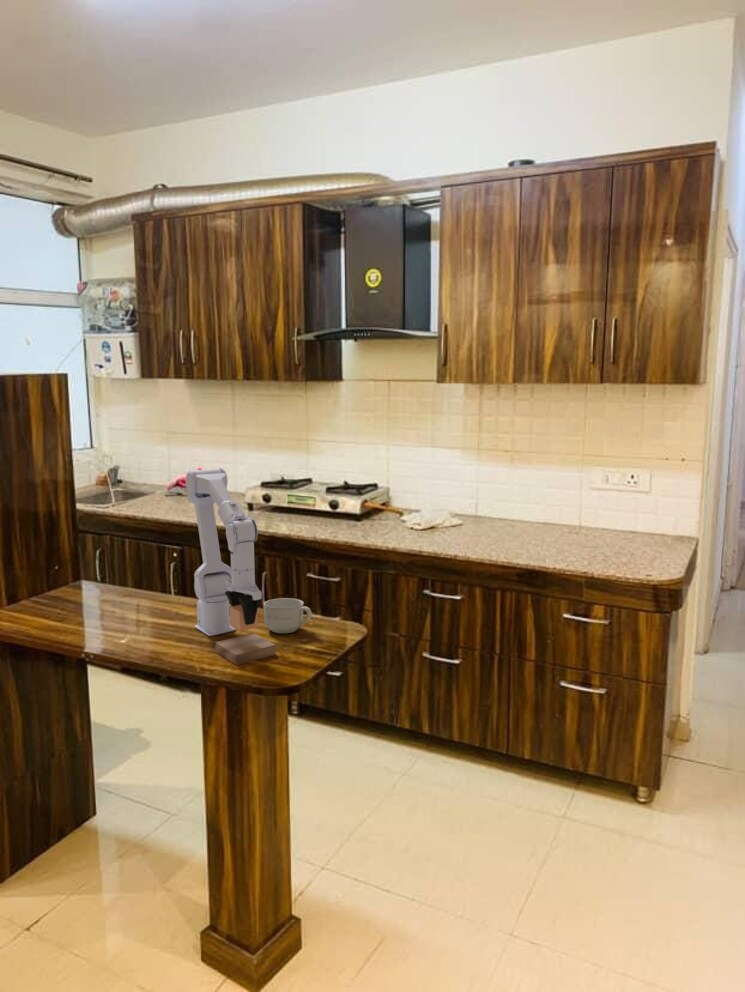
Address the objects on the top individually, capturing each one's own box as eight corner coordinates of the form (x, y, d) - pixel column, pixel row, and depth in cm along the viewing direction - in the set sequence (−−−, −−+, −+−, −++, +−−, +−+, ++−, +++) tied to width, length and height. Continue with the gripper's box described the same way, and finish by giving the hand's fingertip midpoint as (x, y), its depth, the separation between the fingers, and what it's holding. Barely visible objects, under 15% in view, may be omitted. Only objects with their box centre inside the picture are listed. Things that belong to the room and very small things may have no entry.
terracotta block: (230, 626, 189) (229, 606, 188) (248, 621, 192) (247, 603, 191) (240, 631, 185) (239, 611, 184) (258, 627, 188) (257, 607, 187)
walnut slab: (215, 653, 191) (215, 642, 190) (253, 643, 197) (253, 632, 197) (236, 666, 182) (236, 655, 182) (275, 656, 189) (275, 644, 188)
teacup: (256, 631, 205) (255, 603, 204) (284, 620, 214) (283, 593, 213) (293, 642, 197) (292, 613, 196) (321, 631, 205) (320, 603, 204)
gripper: (214, 564, 189) (216, 616, 191) (242, 577, 178) (244, 632, 180) (239, 560, 193) (241, 611, 196) (268, 572, 182) (269, 626, 184)
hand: (244, 620), depth 188 cm, fingers closed on terracotta block, 5 cm apart
